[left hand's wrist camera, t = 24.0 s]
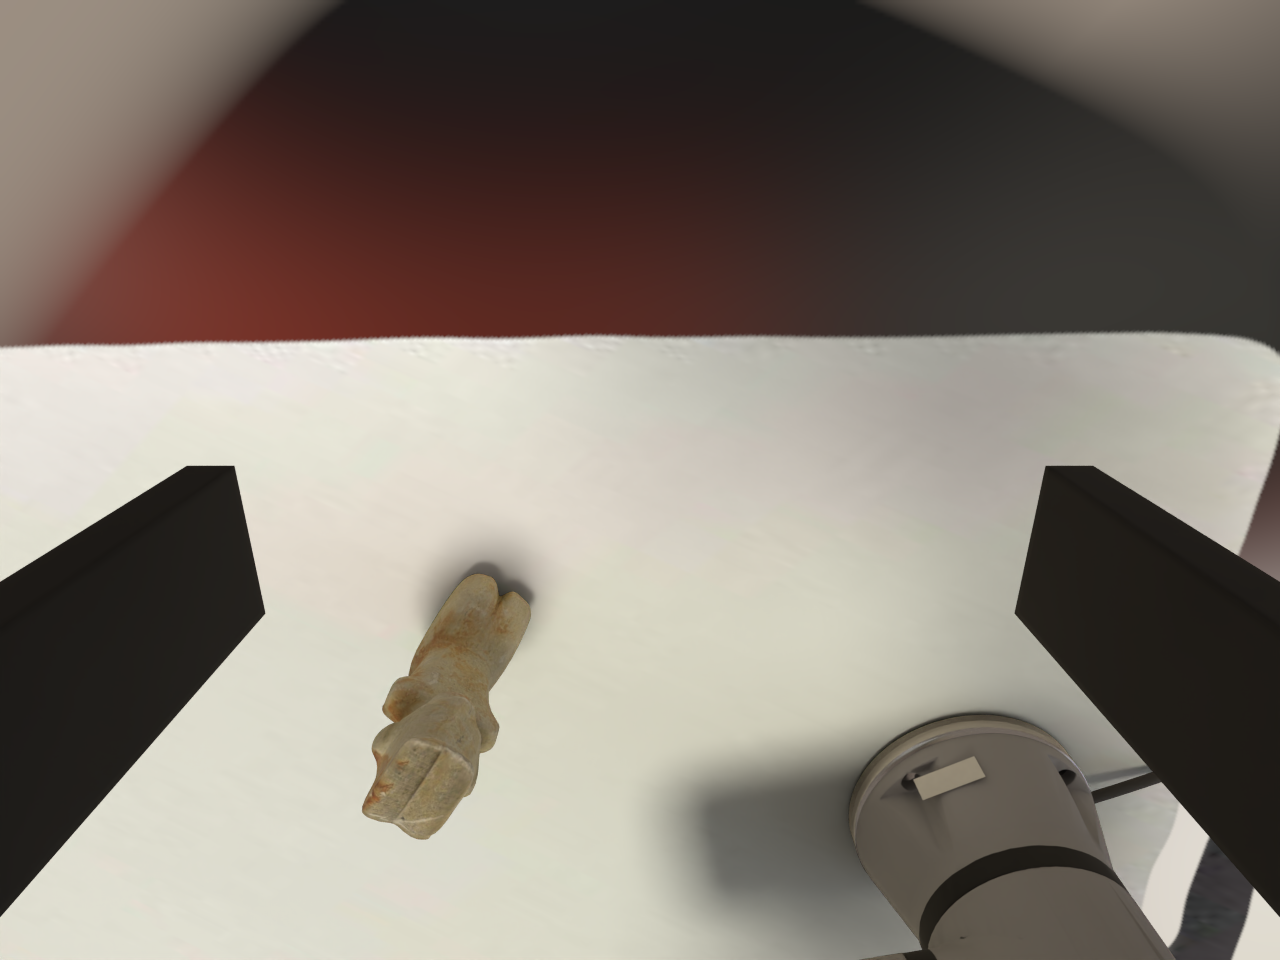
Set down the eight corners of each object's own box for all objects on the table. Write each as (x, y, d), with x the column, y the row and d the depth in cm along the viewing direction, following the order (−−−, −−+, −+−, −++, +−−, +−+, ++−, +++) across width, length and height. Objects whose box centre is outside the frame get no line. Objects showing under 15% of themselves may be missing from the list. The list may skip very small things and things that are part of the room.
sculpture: (552, 605, 45) (512, 795, 31) (484, 683, 47) (418, 895, 33) (470, 550, 44) (390, 723, 30) (404, 634, 46) (300, 832, 32)
